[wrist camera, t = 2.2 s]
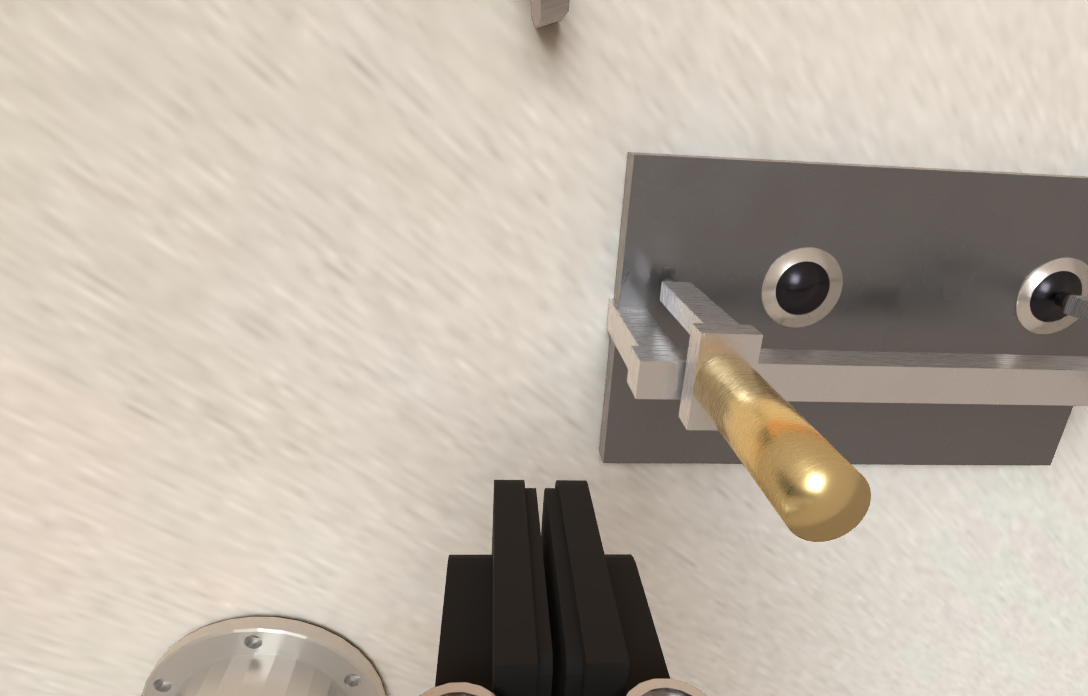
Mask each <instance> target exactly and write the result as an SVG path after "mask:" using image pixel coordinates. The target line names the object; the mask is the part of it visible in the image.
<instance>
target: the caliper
mask: <svg viewBox="0 0 1088 696" xmlns="http://www.w3.org/2000/svg"><path fill="white" fill-rule="evenodd" d="M531 11H532V20H533V23H534V26H535V28H536V29H537V28H540V27H543V26H546V25H549V24H552V23H555V22H559V21H561V20H562V19H563V18H564V16H565V15H566V14H567V12H568V11H569V0H531Z"/></svg>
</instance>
